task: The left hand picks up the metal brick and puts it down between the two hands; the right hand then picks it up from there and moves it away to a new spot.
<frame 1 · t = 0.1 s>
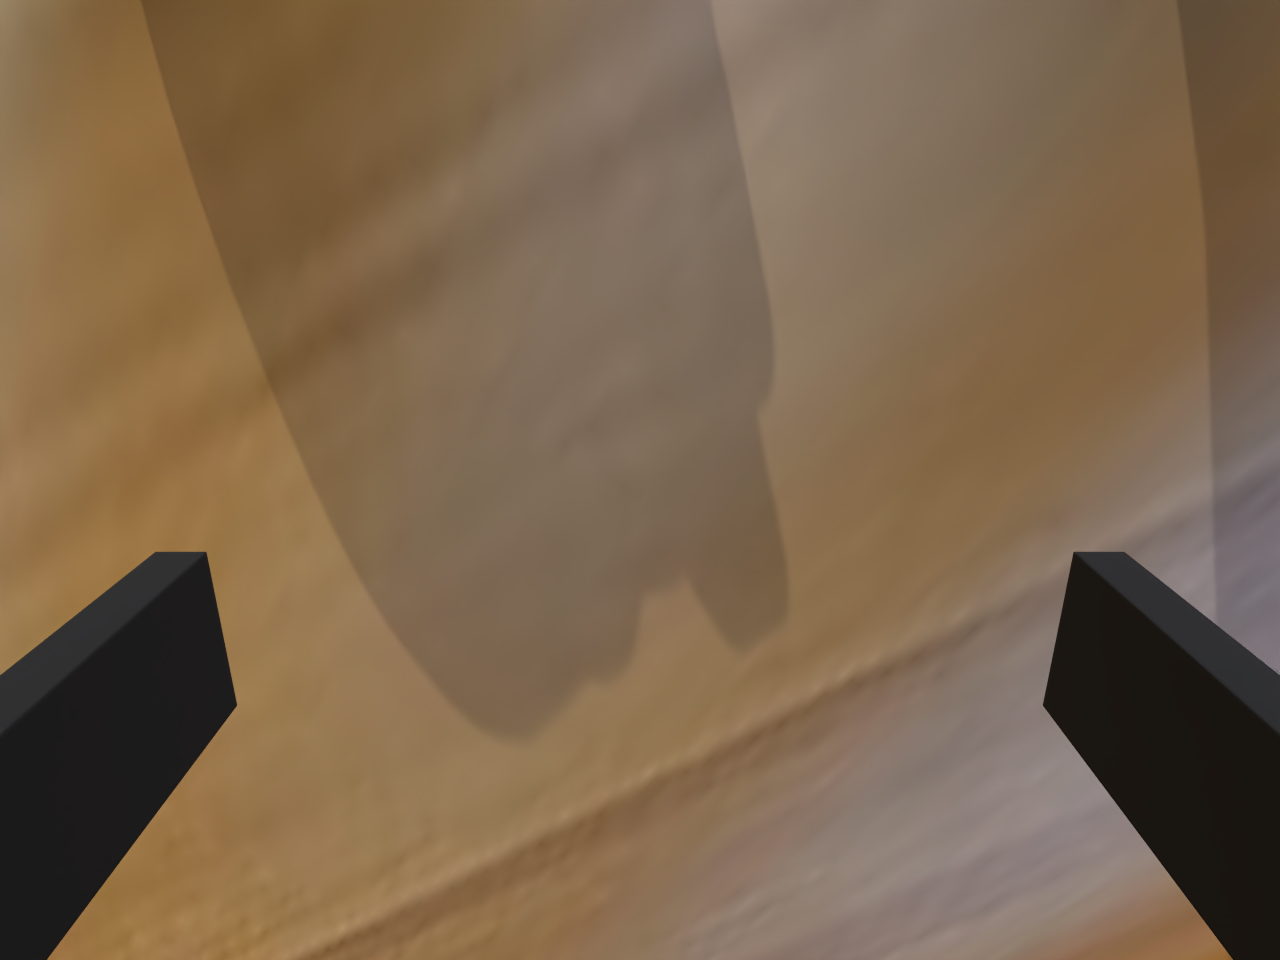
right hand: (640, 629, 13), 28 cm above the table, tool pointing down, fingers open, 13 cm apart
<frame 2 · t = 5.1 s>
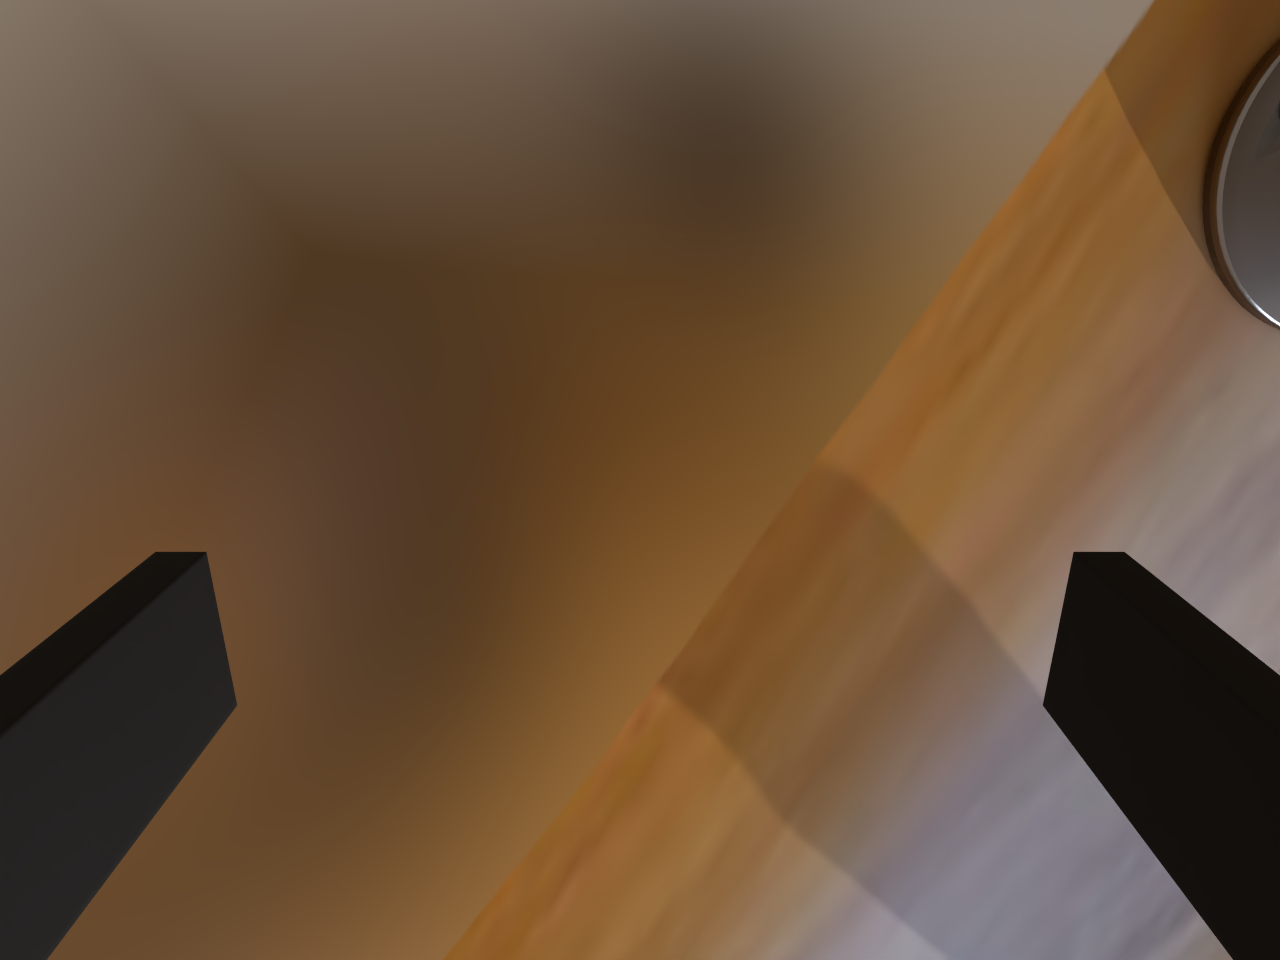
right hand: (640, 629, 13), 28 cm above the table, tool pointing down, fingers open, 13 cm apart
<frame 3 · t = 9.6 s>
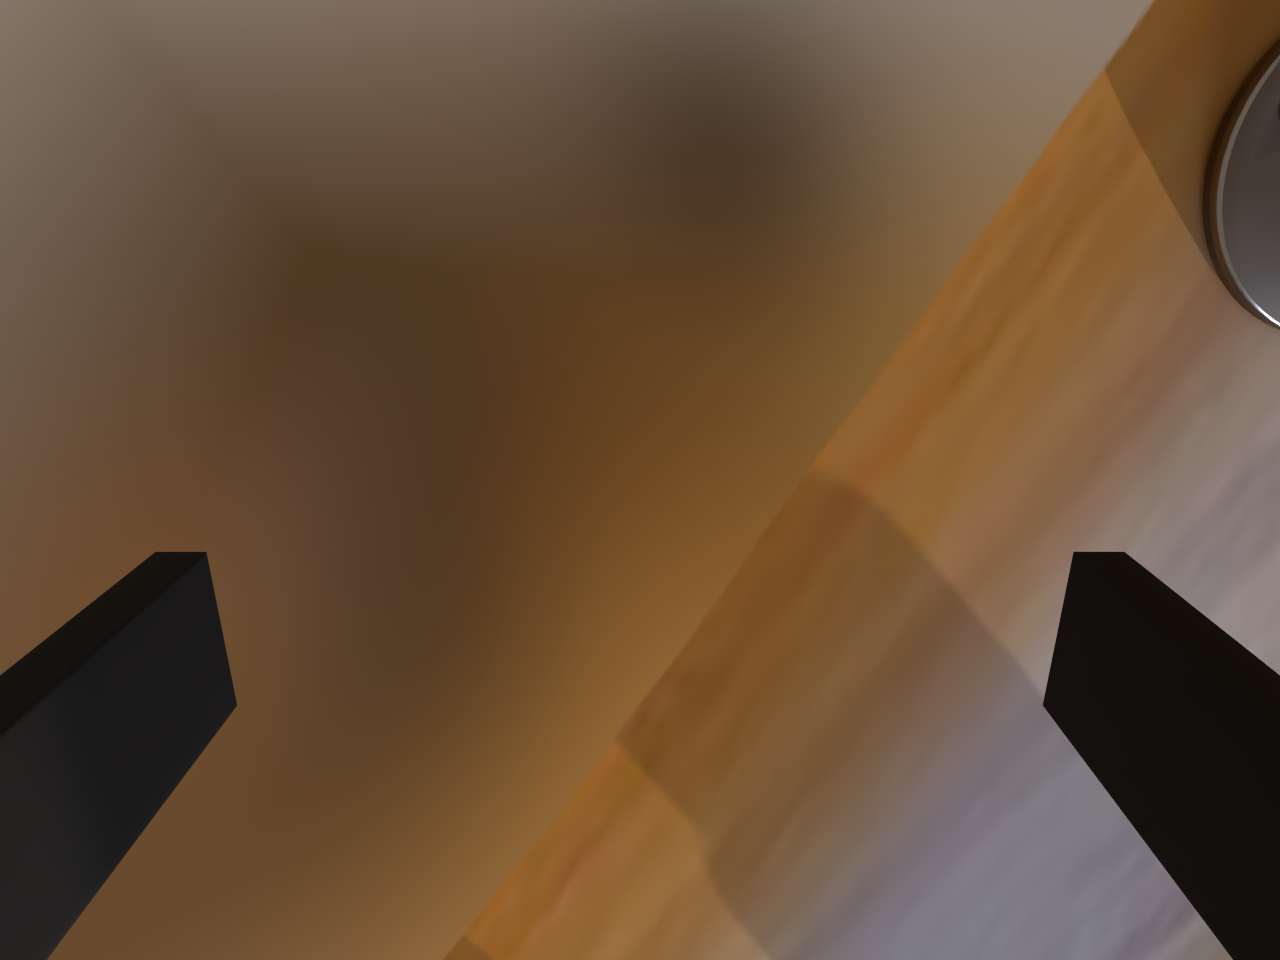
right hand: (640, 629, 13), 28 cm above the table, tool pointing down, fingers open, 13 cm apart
when the left hand's fingers open (3 cm above the table, at t = 14.2 s): brick drops 1 cm, on the table.
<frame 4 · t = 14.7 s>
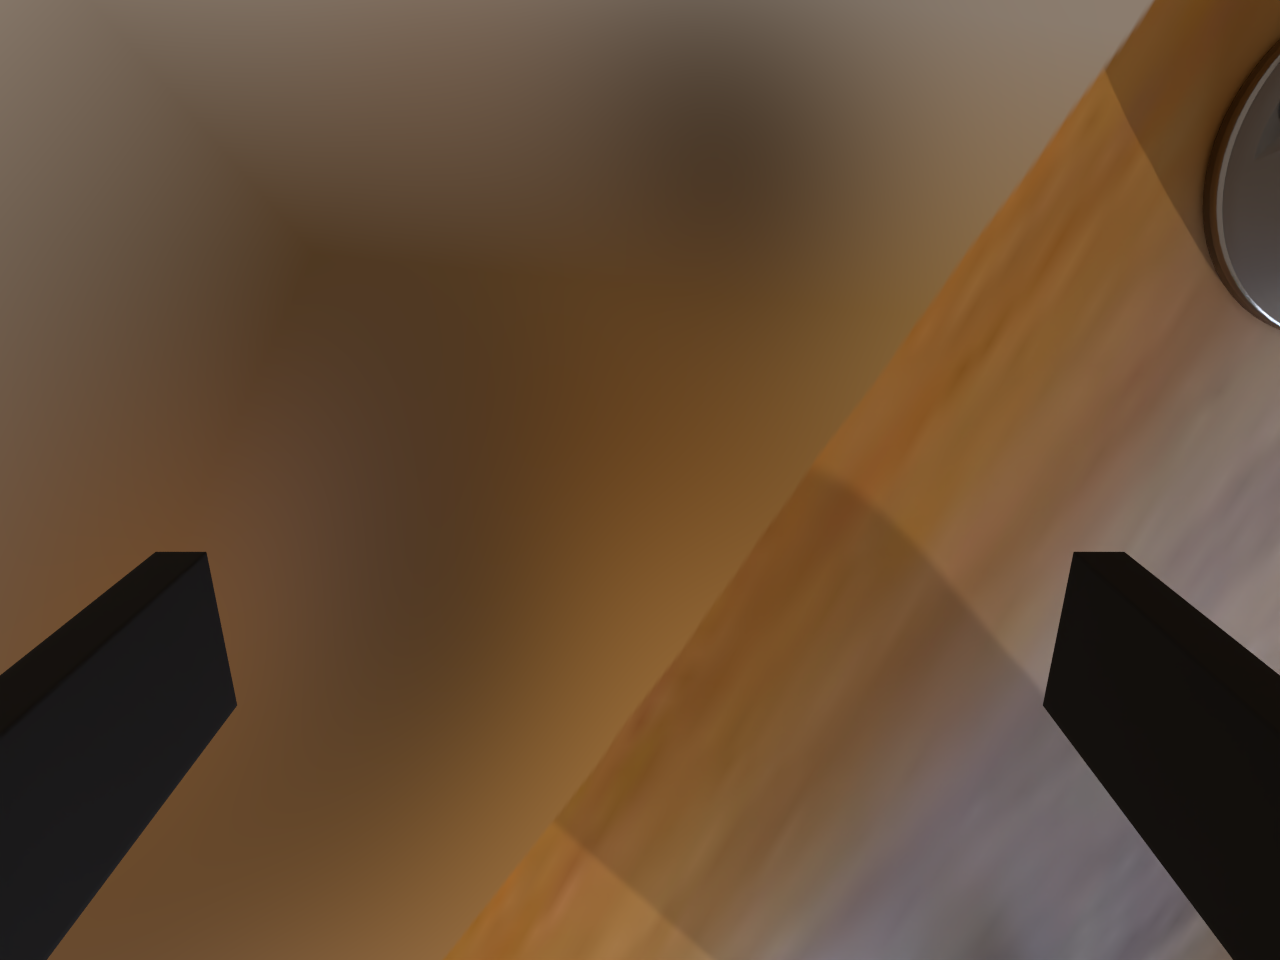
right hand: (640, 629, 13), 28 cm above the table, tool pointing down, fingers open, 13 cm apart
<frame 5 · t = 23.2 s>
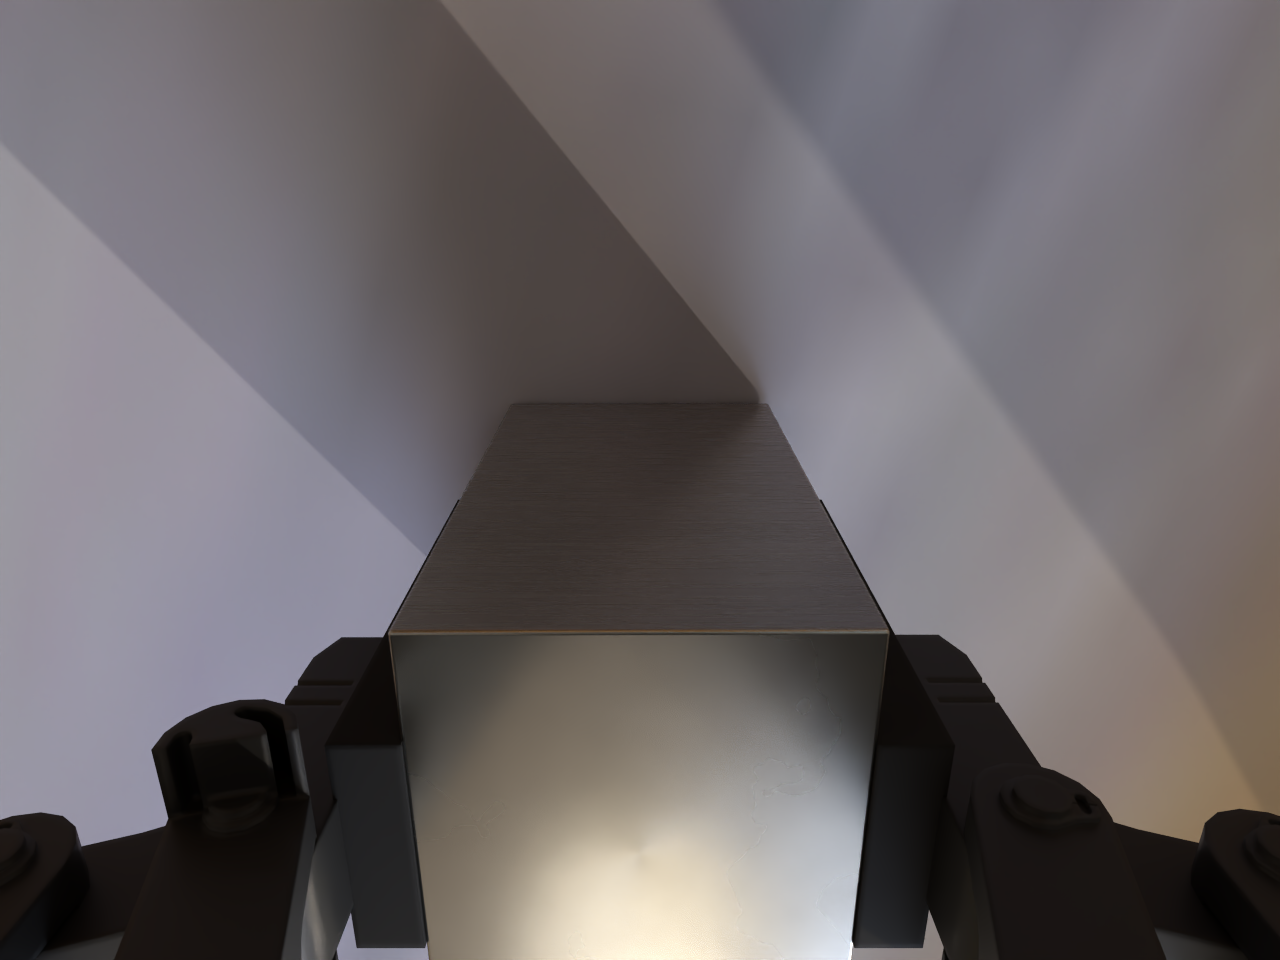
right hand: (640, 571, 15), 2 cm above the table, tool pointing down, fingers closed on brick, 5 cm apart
brick: (639, 536, 16), on the table, touching right hand
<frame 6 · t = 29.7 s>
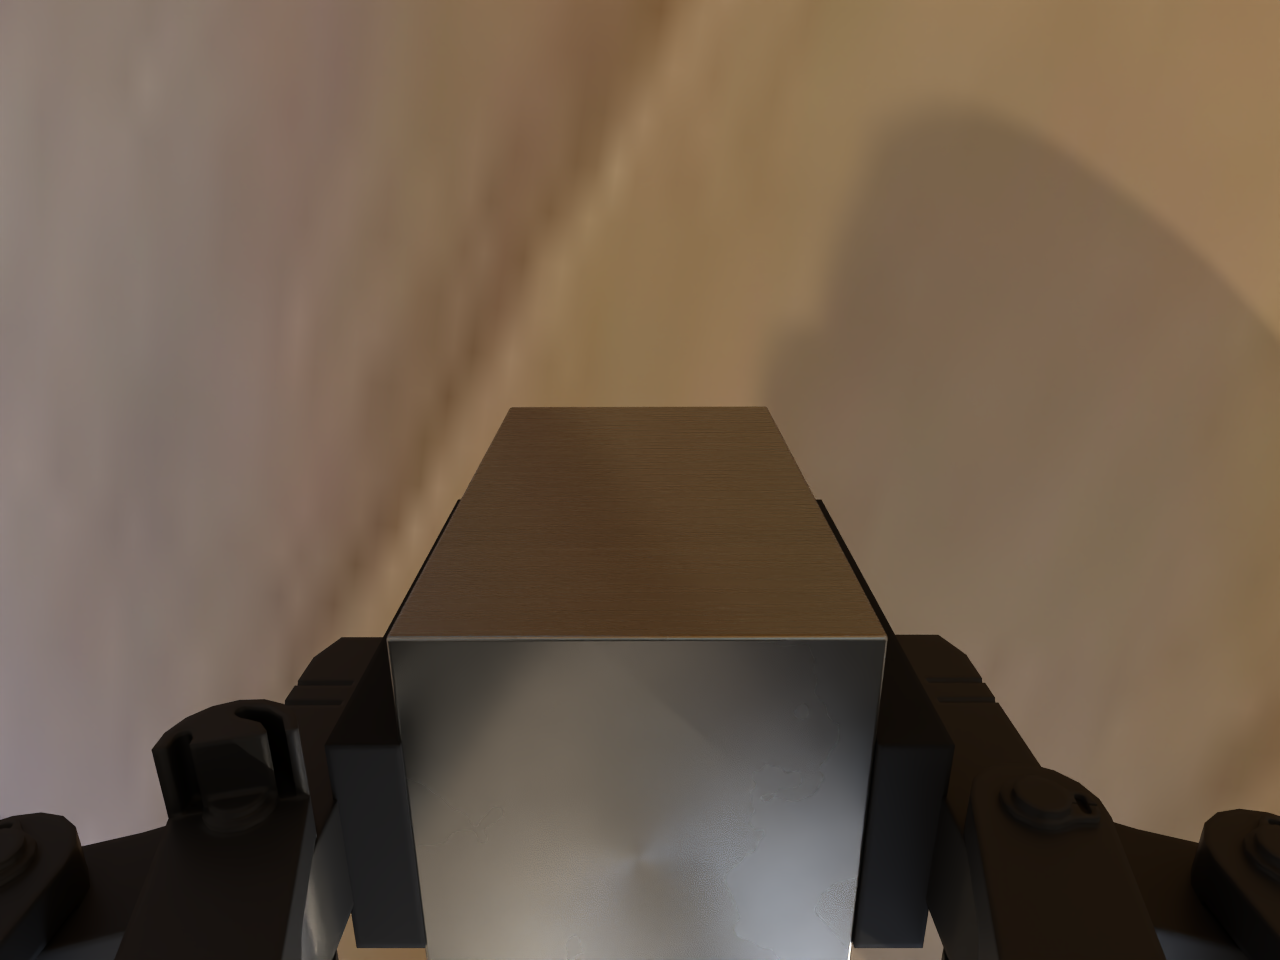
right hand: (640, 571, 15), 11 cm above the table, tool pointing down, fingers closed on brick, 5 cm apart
brick: (639, 539, 16), point 10 cm above the table, touching right hand
when the right hand's fingers open (3 cm above the table, at t = 36.2 s): brick drops 1 cm, on the table.
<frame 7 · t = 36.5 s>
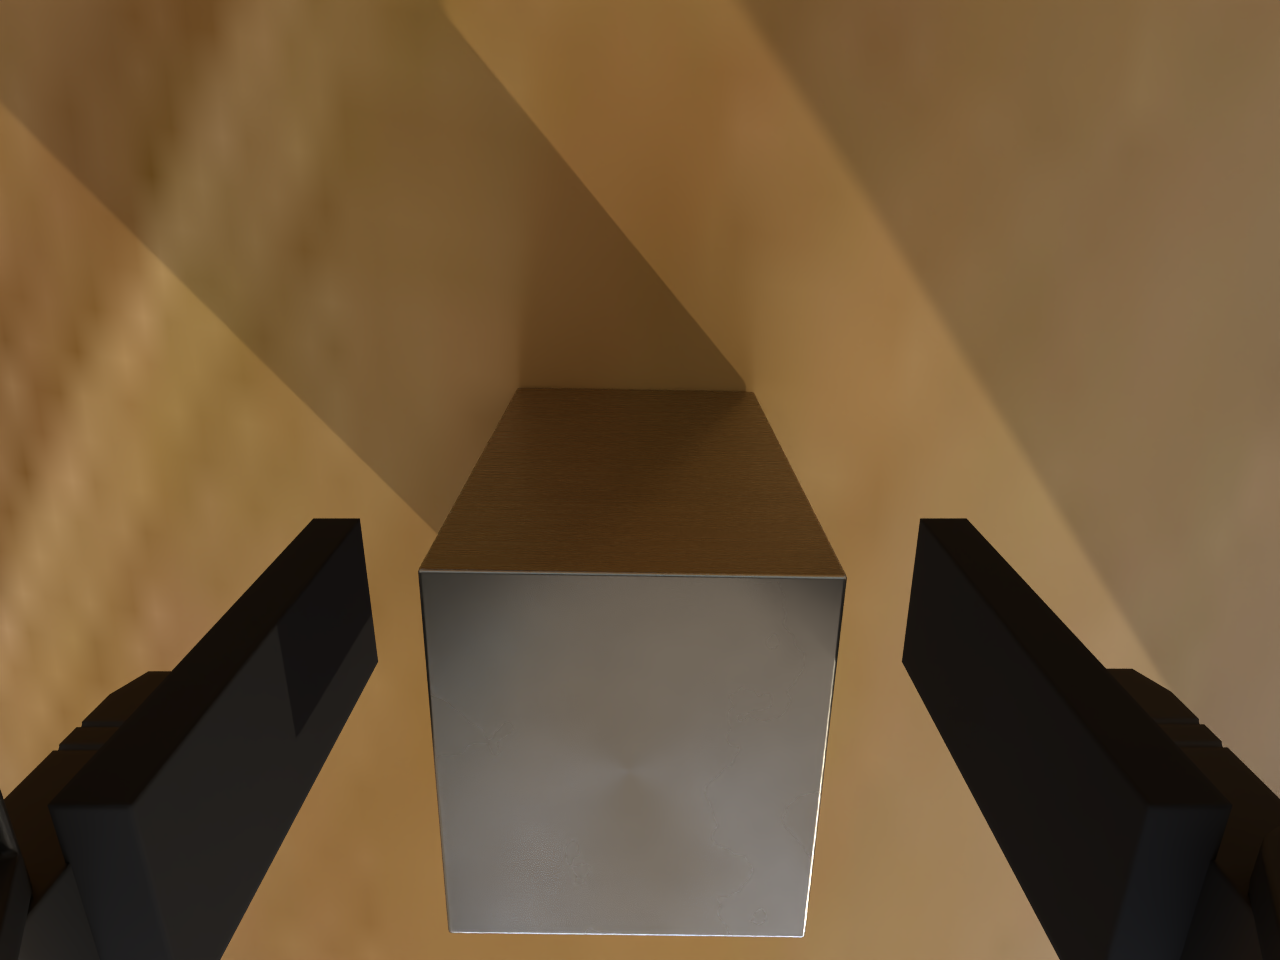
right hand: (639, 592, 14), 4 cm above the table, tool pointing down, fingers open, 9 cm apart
brick: (633, 513, 18), on the table
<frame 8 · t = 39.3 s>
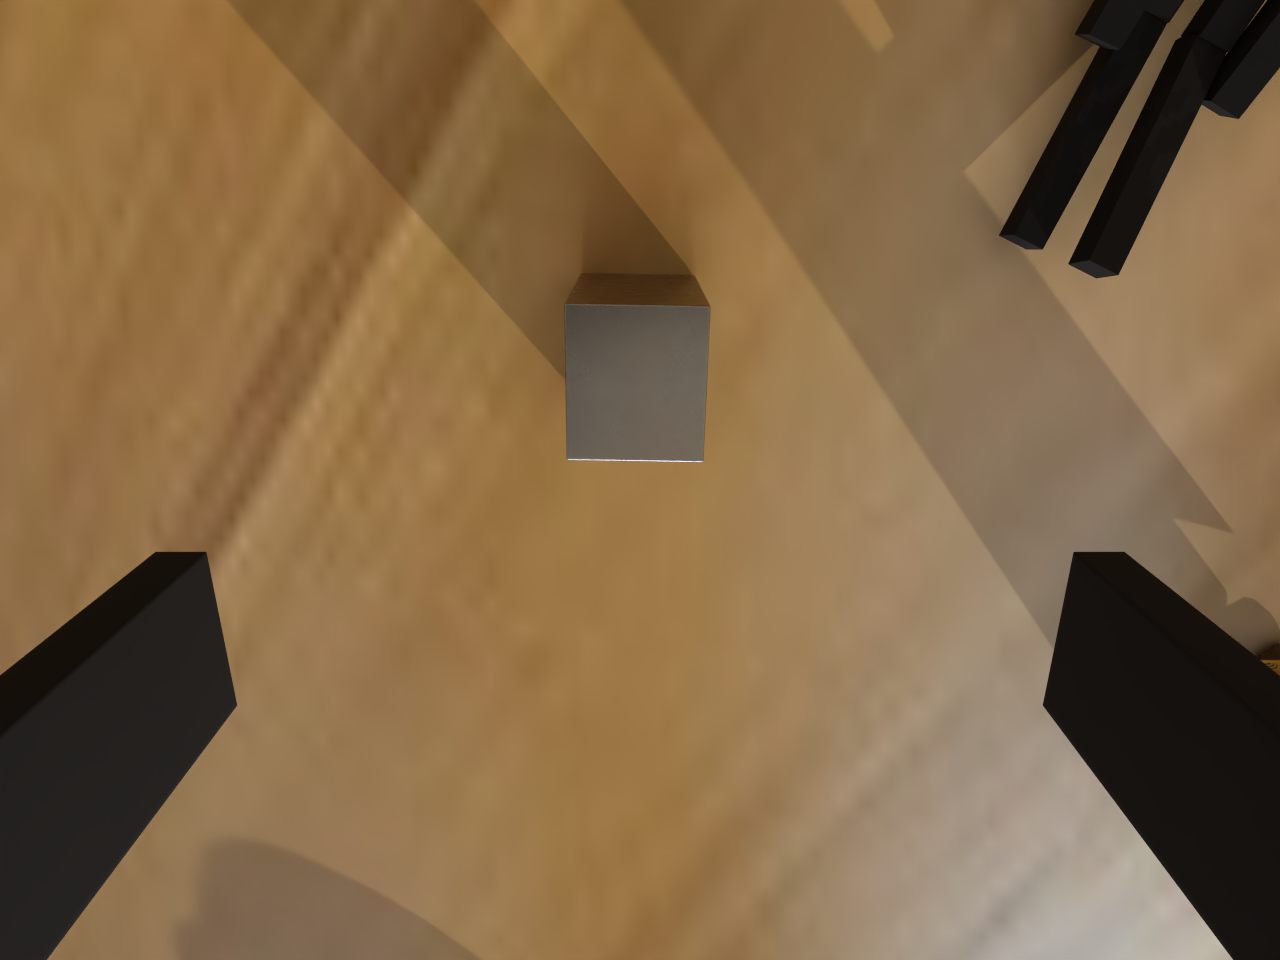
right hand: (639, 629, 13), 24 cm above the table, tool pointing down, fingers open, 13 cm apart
figurine: (1218, 706, 42), on the table
brick: (636, 339, 36), on the table
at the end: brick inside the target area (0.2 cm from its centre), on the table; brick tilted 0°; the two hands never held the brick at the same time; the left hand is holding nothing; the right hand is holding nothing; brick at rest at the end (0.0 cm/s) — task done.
